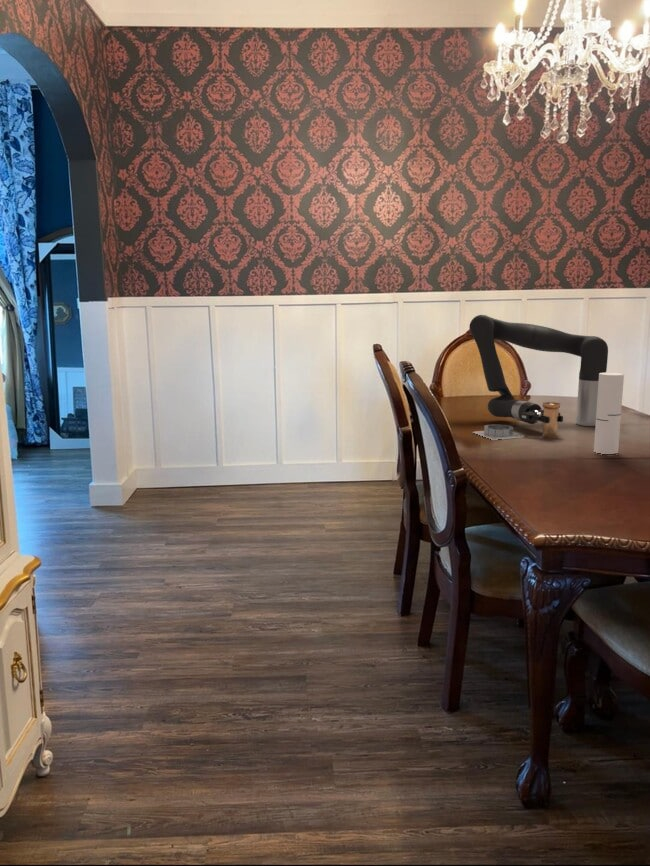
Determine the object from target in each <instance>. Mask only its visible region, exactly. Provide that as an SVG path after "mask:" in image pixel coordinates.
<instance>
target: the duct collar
mask: <svg viewBox="0 0 650 866" xmlns="http://www.w3.org/2000/svg"><path fill="white" fill-rule="evenodd" d="M483 426H484V427H483V430H478V431H477V430H476V431H472V434H473V433H475V434H474V435H476V434H478V435H477V436H479V435H480V436H479V437H482V436H483V437H482V438H484V437H486V438H485V439H487V438H489V439H488V440H490V439H491V441H499V440H498V439H502V440H510V439H521V438H526V437H525V435H524V434H520V433H517V432H514V427H513V426H511V425H508V424H497V423H496V424H495V423H494V424H486V425H483Z"/></svg>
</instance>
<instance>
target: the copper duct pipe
mask: <svg viewBox="0 0 650 866" xmlns="http://www.w3.org/2000/svg"><path fill="white" fill-rule="evenodd" d="M560 407H561V403H560V402H555V401H554V402H553V401H545V402H542V408H543V410H544V411H543V416H547V417H549V418H550V419H549V423H544V422H542V431H541V432H542V433H541V434H542V436H541V437H542V438H543V437H544V439H549V438H554V439H558V427H559V422H558V413H560V412H559V410H560V409H559V408H560Z"/></svg>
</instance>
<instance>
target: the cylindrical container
mask: <svg viewBox="0 0 650 866" xmlns="http://www.w3.org/2000/svg"><path fill="white" fill-rule="evenodd" d="M624 378H625V374H624V373H621V372H606V373H599V383H598V397H597V412H596V426H594V427H595V429H594V442H593V453H594V452H596V453H595V454H597V453H601V454H600V455H602V454H614V453H618V454H619V444H620V443H619V442H620V433H621V432H620V431H621V420H622V419H621V416H622V407H623V406H622V404H623V394H624V393H623V391H624V382H625V380H624Z"/></svg>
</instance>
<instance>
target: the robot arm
mask: <svg viewBox="0 0 650 866" xmlns="http://www.w3.org/2000/svg"><path fill="white" fill-rule="evenodd" d="M468 329H469V333H470V334H471V336H472V337H473V339H474V342H475V344H476V346H477V349H478V352H479V355H480V361H481V366H482V370H483V375H484V379H485V382H486V386H487V390H488V391H489V392H492V393H494V392H498V394H499V395H500V396H497V397H494V398H492V399H490V400H489V401H488V402H487V409H488V412H489V413H490V414H491V415H492V416H494V417H498V418H512V419H516V420H518V421H520V422H524V423H526V424H529V425H530V424H531V425H535V424H537V423H543V422H544V423H549V419H550V418H549V417H547V416H543V411H544V408H543V409H542V407H541V405H540V404H537V403H534V402H530V401H526V400H519V399H515V398H514V396H513V394H512V392H511V390H510V389H509V387H508V385H507V383H506V380H505V375H504V372H503V368H502V367H503V366H502V364H501V362H500V359H499V356H498V352H497V350H496V349H497V348H496V345H495V344H496V343H495V341H497V340H498V341H502V342H503V341H504V342H507V343H510V344H511V345H515V346H519V347H522V348H524V349H530V350H534V351H538V352H547V353H564V354H570V355H573V356H577V357H580V366H579V367H580V369H579V372H578V373H579V374H578V387H577V388H578V389H577V403H576V419H575V421H576V422H575V424H577V426H585V427H595V426H596V412H597V397H598V383H599V373H607V369H608V361H609V360H608V358H609V357H608V356H609V347H608V344H607V342H606V340H604V339H603V338H601V337H599V336H593V335H581V334H573V333H568V332H564V331H561V330H559V329H555V328H551V327H548V326H544V325H539V324H533V323H532V324H531V323H523V322H508V321H504V320H501V319H497V318H494V317H490V316H488V315H486V314H479V315H475V317H473V318H472V319H471V320H470V323H469V327H468ZM563 422H564V416H563V415H561V412H559V413H558V423H563Z"/></svg>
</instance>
